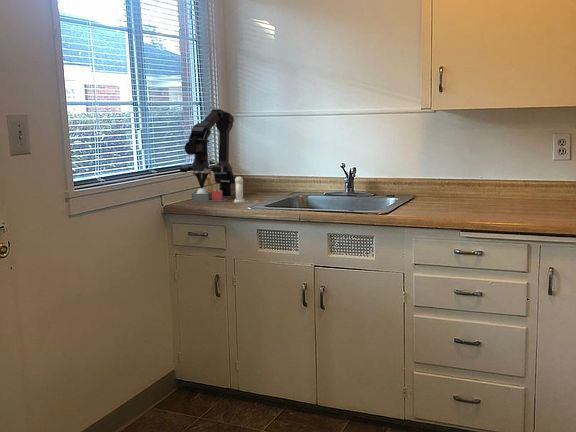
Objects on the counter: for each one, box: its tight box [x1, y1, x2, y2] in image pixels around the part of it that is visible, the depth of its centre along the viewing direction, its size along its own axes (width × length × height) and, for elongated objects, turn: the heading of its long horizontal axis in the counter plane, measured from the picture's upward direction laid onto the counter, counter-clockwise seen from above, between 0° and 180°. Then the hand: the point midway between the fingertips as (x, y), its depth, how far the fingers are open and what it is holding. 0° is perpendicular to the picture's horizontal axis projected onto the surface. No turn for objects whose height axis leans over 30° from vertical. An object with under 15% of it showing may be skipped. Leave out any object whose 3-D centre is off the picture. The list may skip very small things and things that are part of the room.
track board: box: [233, 199, 267, 204], centre depth 284 cm, size 16×6×1 cm, turn 116°
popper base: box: [190, 189, 229, 205], centre depth 289 cm, size 9×15×6 cm, turn 86°
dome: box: [195, 187, 209, 194], centre depth 289 cm, size 6×6×5 cm
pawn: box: [233, 175, 246, 204], centre depth 281 cm, size 5×5×11 cm
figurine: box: [205, 173, 218, 192], centre depth 299 cm, size 8×6×12 cm
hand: (201, 188), depth 289 cm, fingers closed, pressing on dome
